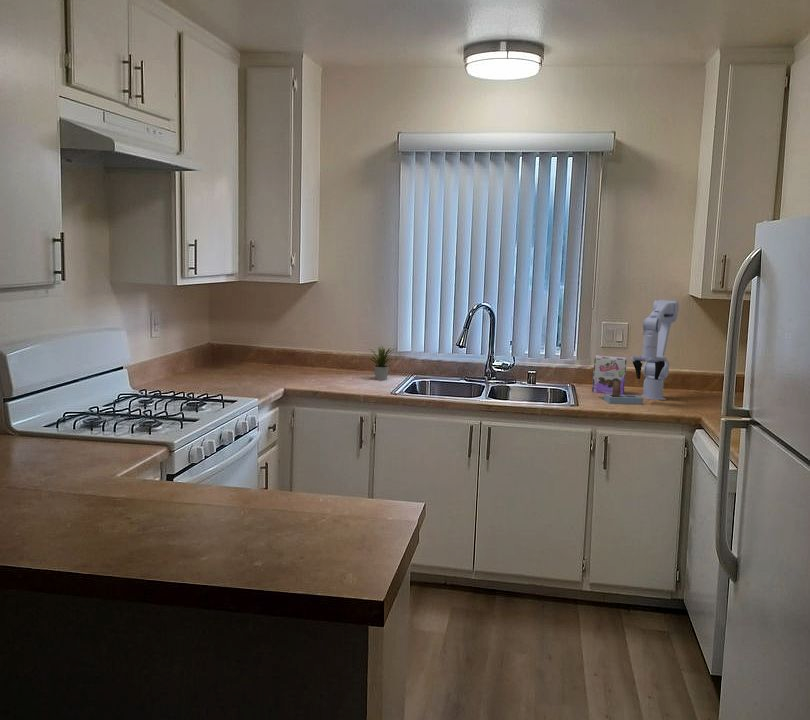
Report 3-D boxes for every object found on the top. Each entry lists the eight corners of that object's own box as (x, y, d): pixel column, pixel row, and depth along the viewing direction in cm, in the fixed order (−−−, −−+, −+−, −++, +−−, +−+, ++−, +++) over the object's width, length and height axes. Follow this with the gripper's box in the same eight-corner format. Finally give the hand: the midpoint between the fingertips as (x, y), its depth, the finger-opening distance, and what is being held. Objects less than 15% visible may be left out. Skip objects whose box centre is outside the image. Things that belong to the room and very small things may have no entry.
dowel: (610, 402, 337) (612, 381, 336) (617, 402, 337) (619, 381, 336) (613, 403, 334) (614, 382, 333) (620, 403, 334) (621, 382, 333)
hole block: (604, 401, 339) (604, 394, 338) (636, 402, 340) (637, 395, 339) (609, 404, 332) (609, 397, 332) (642, 405, 333) (643, 398, 333)
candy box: (591, 393, 358) (594, 356, 356) (592, 391, 364) (595, 354, 361) (623, 395, 354) (626, 358, 352) (624, 393, 360) (627, 357, 357)
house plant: (405, 380, 372) (406, 345, 370) (381, 383, 364) (382, 347, 361) (385, 376, 383) (386, 342, 381) (362, 378, 374) (363, 343, 372)
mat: (597, 397, 347) (598, 396, 347) (620, 398, 348) (620, 397, 348) (603, 401, 339) (603, 400, 339) (626, 401, 340) (627, 400, 340)
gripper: (636, 346, 330) (633, 379, 331) (670, 348, 331) (668, 381, 332) (630, 345, 337) (627, 377, 338) (664, 346, 338) (661, 378, 339)
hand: (647, 379), depth 336 cm, fingers open, 7 cm apart
